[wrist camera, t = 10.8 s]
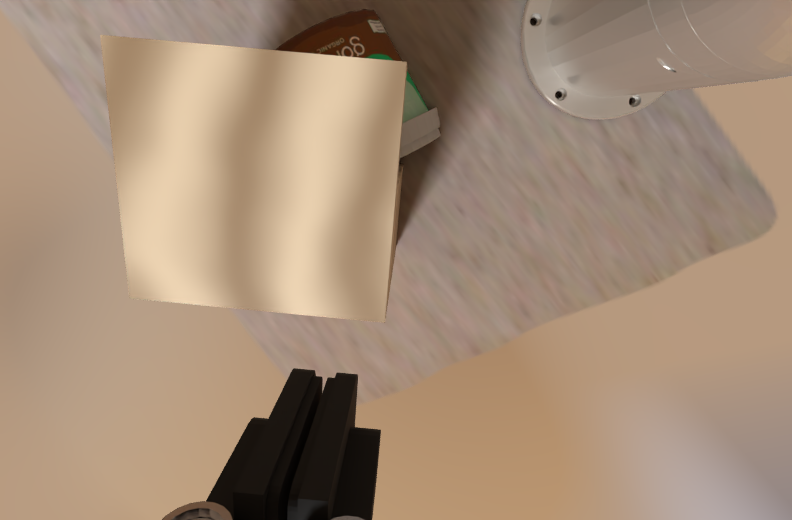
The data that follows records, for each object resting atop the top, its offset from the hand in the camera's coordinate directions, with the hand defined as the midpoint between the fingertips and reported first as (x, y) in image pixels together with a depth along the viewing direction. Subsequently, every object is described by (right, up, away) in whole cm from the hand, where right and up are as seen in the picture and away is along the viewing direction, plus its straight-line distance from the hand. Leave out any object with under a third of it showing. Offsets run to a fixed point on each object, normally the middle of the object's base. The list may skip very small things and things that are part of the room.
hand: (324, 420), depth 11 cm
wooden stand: (-5, +12, +25) cm, 28 cm away
